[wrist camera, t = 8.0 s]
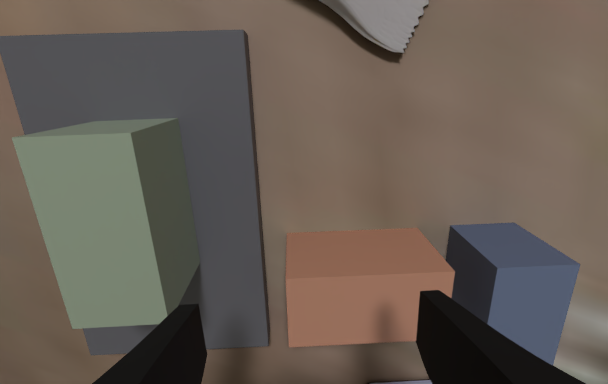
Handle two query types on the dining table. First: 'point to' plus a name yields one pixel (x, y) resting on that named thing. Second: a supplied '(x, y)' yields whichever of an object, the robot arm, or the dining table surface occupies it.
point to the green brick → (114, 217)
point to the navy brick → (513, 283)
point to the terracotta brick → (359, 285)
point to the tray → (195, 141)
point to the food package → (381, 19)
